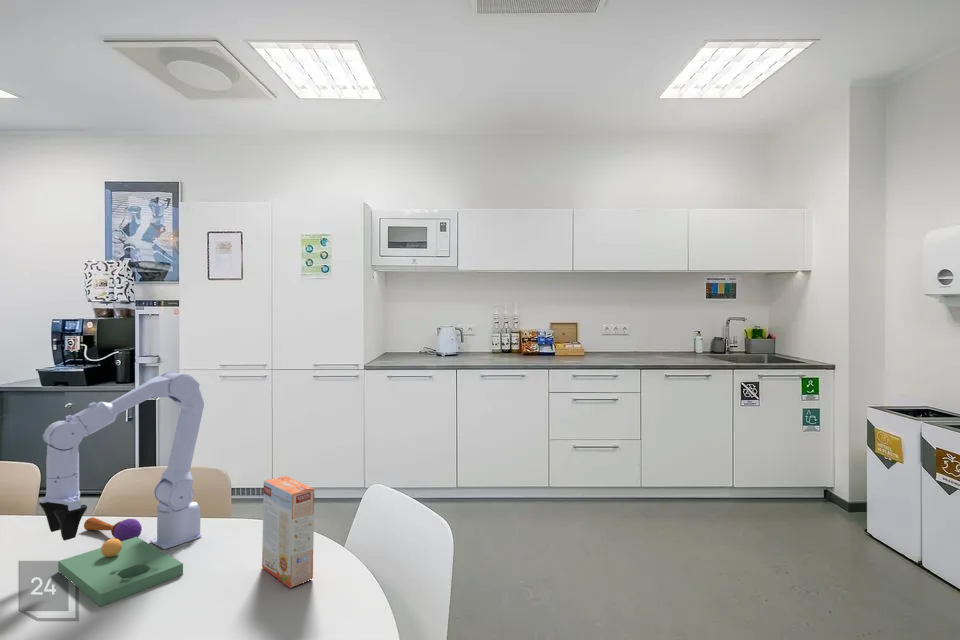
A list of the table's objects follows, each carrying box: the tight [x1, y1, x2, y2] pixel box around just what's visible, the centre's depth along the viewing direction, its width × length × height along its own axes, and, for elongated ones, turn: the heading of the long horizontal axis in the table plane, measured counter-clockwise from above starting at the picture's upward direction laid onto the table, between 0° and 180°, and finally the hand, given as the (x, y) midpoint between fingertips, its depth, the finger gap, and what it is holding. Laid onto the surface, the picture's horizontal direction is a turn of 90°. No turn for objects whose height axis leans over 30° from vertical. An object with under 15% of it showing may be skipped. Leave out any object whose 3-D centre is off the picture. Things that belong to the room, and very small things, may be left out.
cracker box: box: [261, 475, 315, 589], centre depth 117 cm, size 14×6×21 cm, turn 47°
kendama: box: [83, 517, 142, 541], centre depth 135 cm, size 6×6×20 cm
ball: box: [100, 537, 122, 557], centre depth 119 cm, size 4×4×4 cm
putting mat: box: [57, 537, 184, 607], centre depth 116 cm, size 16×24×2 cm, turn 56°
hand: (62, 534), depth 115 cm, fingers open, 7 cm apart
